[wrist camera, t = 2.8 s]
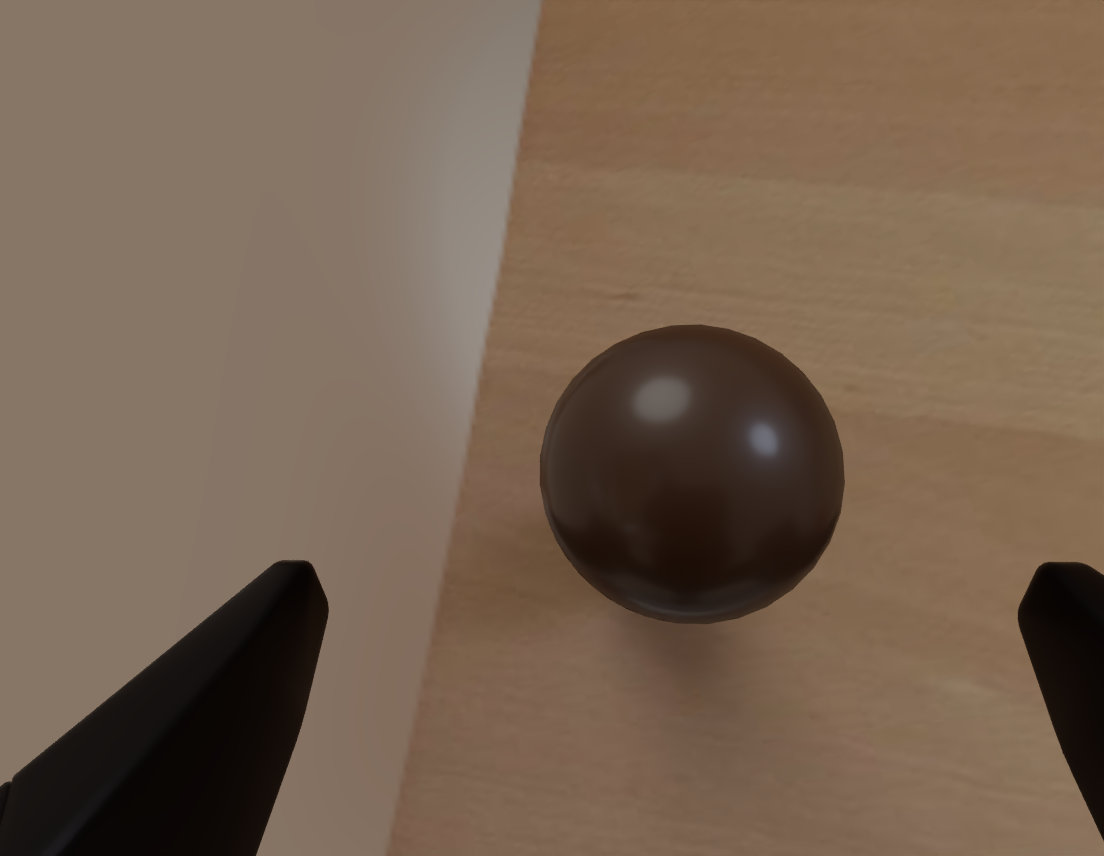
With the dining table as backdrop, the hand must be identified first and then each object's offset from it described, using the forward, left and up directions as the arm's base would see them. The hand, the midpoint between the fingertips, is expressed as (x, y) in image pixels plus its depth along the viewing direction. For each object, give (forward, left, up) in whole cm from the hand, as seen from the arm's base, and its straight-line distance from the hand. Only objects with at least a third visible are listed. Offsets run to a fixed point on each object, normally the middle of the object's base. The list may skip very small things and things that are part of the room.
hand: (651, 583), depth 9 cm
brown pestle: (+1, 0, -10) cm, 10 cm away
